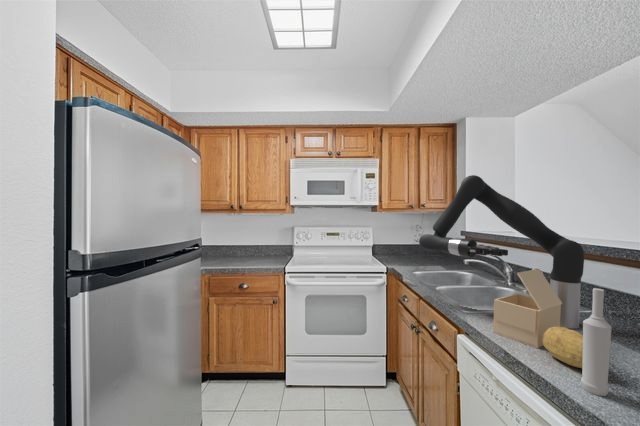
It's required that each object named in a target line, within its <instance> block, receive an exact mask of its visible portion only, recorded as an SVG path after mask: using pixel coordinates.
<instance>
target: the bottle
mask: <svg viewBox="0 0 640 426" xmlns="http://www.w3.org/2000/svg"><path fill="white" fill-rule="evenodd" d="M604 297H605V289H602V288H597V287H596V288H595V287H594V288H592V306H591V307H592V309H591V315H589V317H587V318H586V319H584V320H583V321H582V335H583V365H582V368H581V369H582V372H581V373H582V377H581V378H580V385H581V388H582V389H583V390H584V391H586V392H587V393H590V394H592V395H596V396H599V397H600V396H601V397H605V396H607V395H608V394H609V391H610V387H609V385H608V384H609V383H608V382H609V369H610V354H611V343H612V342H611V341H612V340H611V339H612V325H610V324H609V323H608V321H606V320H605V317H604Z"/></svg>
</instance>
